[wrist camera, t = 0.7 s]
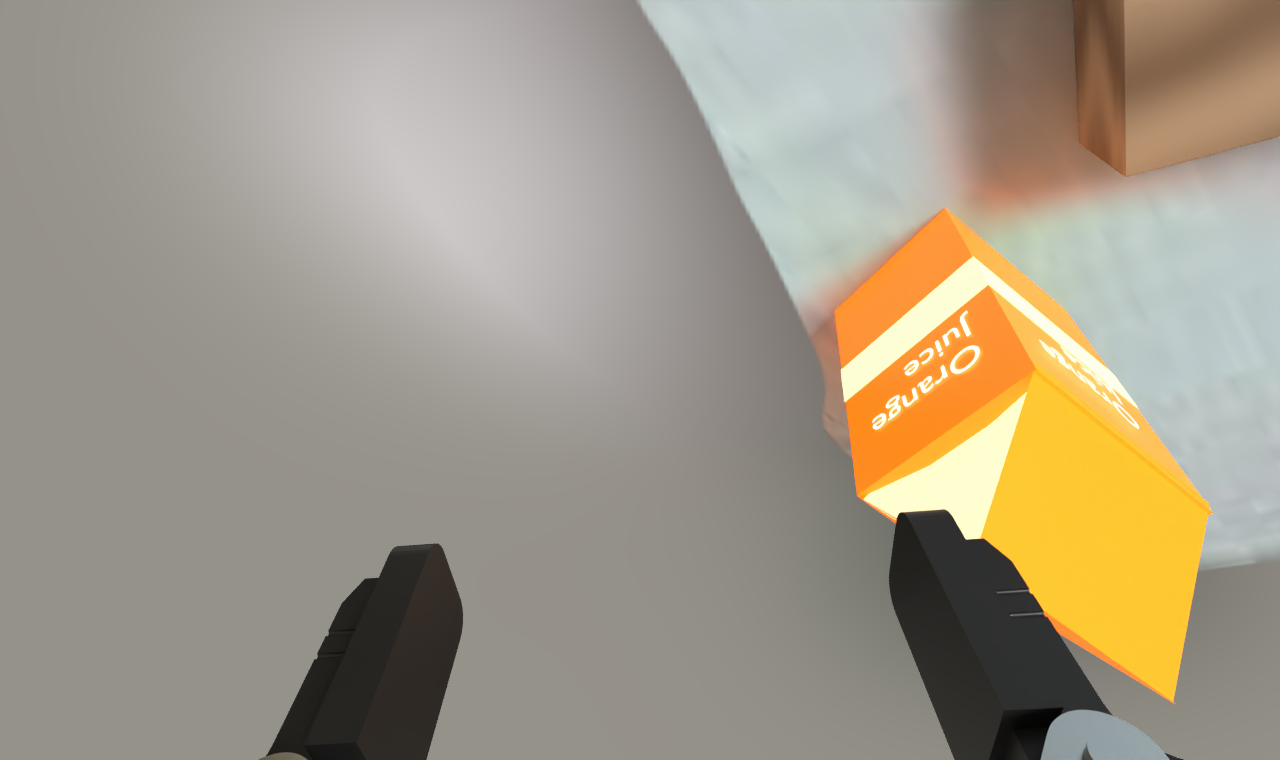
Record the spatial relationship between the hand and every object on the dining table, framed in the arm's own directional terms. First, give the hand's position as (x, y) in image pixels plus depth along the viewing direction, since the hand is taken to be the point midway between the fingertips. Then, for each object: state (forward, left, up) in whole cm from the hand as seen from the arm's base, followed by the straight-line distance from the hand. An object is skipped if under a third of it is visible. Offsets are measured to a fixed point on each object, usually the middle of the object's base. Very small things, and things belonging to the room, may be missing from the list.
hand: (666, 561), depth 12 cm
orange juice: (+11, +8, -26) cm, 29 cm away
